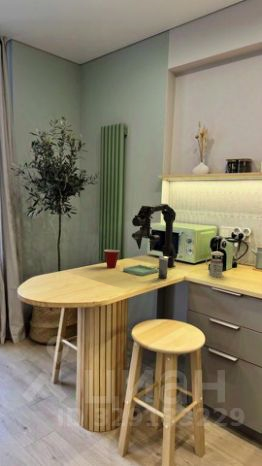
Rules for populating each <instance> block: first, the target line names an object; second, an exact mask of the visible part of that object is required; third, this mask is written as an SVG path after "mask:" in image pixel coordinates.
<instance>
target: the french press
mask: <svg viewBox="0 0 262 466" xmlns="http://www.w3.org/2000/svg"><path fill="white" fill-rule="evenodd" d="M216 239H220V236H216ZM218 245H219V243H217V248H216V249H219V248H218ZM212 256H216V257H219V256H221V257H222V256H224V253H223V252H221V251H218V250H216V251H212V252H211V253H210V255H208V256H207V257H206V259H205V263H206V265H207V267H209V271H208V273H207V275H208V276H211V277H215V276H217V278H218V277H219V278H220V277H224V275H223V265H224V264H223V263H224V262H223V260H222V259H219V258H212ZM209 258H210V263H209V265H208V259H209Z"/></svg>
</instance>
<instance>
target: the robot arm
mask: <svg viewBox="0 0 262 466" xmlns="http://www.w3.org/2000/svg"><path fill="white" fill-rule="evenodd" d="M156 212H160V213H161V214H162V216H163V218H162V219H163V220H164V223H165V229H164V230H165V232H164V233H165V234H164V235H165V237H164V238H165V239H164V241H165V242H164V243H165V244H164V245H162V246H161V248H162V249H161V253H162V256H167V257H168V267H167V268H171V269H172V268H174V267H176V265H175V260H176V259H177V258H178V255H177V254H178V253H176V250H175V246H174V244H173V232H174V228H173V227H174V222H175V220H176V216H177V214H176V211H175V210H174V208H172V207H171V206H170V205H169V204H168V203H160V204H155V205H141V207H140V209H139V211H138V213H137V214H135V215H134V217H133V218H132V220H131V222H132V225H133V226H134V227H139V230H137V231H135V232H132V234H131V238H133V240H134V241H135V242H136V245H137V248H138V250H141V248H142V242H143V239H148V243H149V252H152V251H153V249H154V247H155V245H156V243H157V242H159V241H160V235H157V234H154V235H152V233H151V230H152V227H151V225H152V224H151V223H152V219H153V216H152V215H153V214H155V213H156Z"/></svg>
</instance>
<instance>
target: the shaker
mask: <svg viewBox="0 0 262 466" xmlns="http://www.w3.org/2000/svg"><path fill="white" fill-rule="evenodd" d="M168 268H169V267H168V257H167V256H163V255H159V257H158V274H157V275H158V279H159V280H167V279H168Z"/></svg>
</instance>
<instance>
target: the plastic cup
mask: <svg viewBox="0 0 262 466" xmlns="http://www.w3.org/2000/svg"><path fill="white" fill-rule="evenodd" d="M103 251H104V254H105V263H106V267H107V268H108V269H116V267H117V263H118V258H119V257H118V256H119V254H120V252H121V251H120V250H119V249H118V250H117V249H104V250H103Z"/></svg>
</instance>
